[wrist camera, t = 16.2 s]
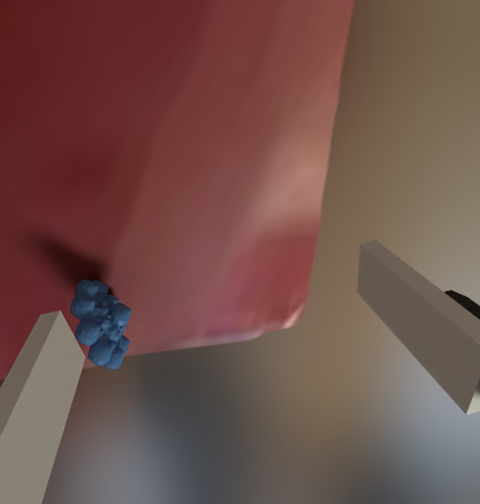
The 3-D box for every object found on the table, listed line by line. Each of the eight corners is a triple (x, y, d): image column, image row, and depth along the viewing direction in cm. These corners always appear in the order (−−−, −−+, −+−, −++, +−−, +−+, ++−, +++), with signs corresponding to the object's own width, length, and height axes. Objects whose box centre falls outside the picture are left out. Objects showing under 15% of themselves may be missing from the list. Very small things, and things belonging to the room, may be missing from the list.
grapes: (153, 312, 51) (149, 372, 40) (114, 328, 51) (101, 392, 40) (115, 255, 45) (99, 307, 35) (71, 273, 45) (41, 331, 35)
